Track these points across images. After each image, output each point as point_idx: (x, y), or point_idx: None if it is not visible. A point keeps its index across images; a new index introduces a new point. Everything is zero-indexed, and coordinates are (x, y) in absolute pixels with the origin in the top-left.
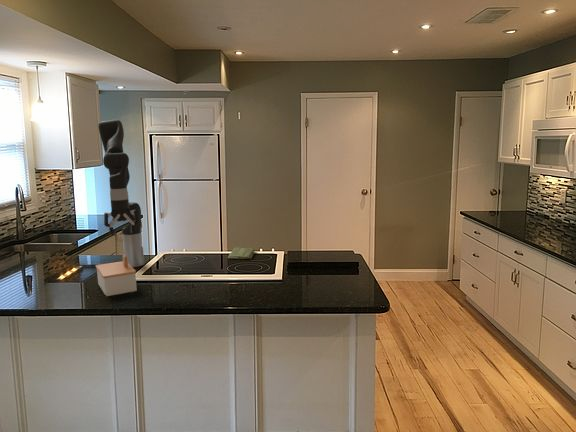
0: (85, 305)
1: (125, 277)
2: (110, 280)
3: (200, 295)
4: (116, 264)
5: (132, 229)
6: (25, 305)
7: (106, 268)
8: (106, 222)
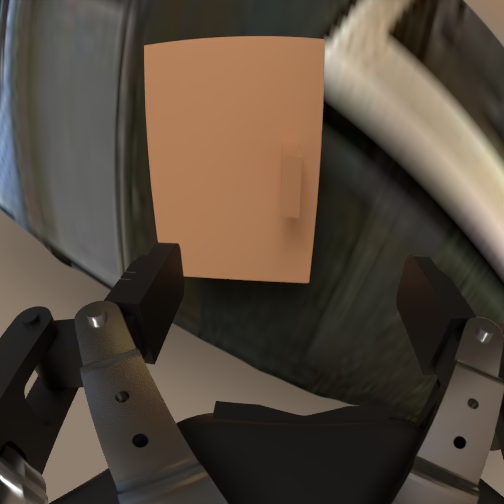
0: None
1: None
2: None
3: (417, 364)
4: (252, 90)
5: (416, 332)
6: (2, 183)
7: (186, 145)
8: (44, 414)
